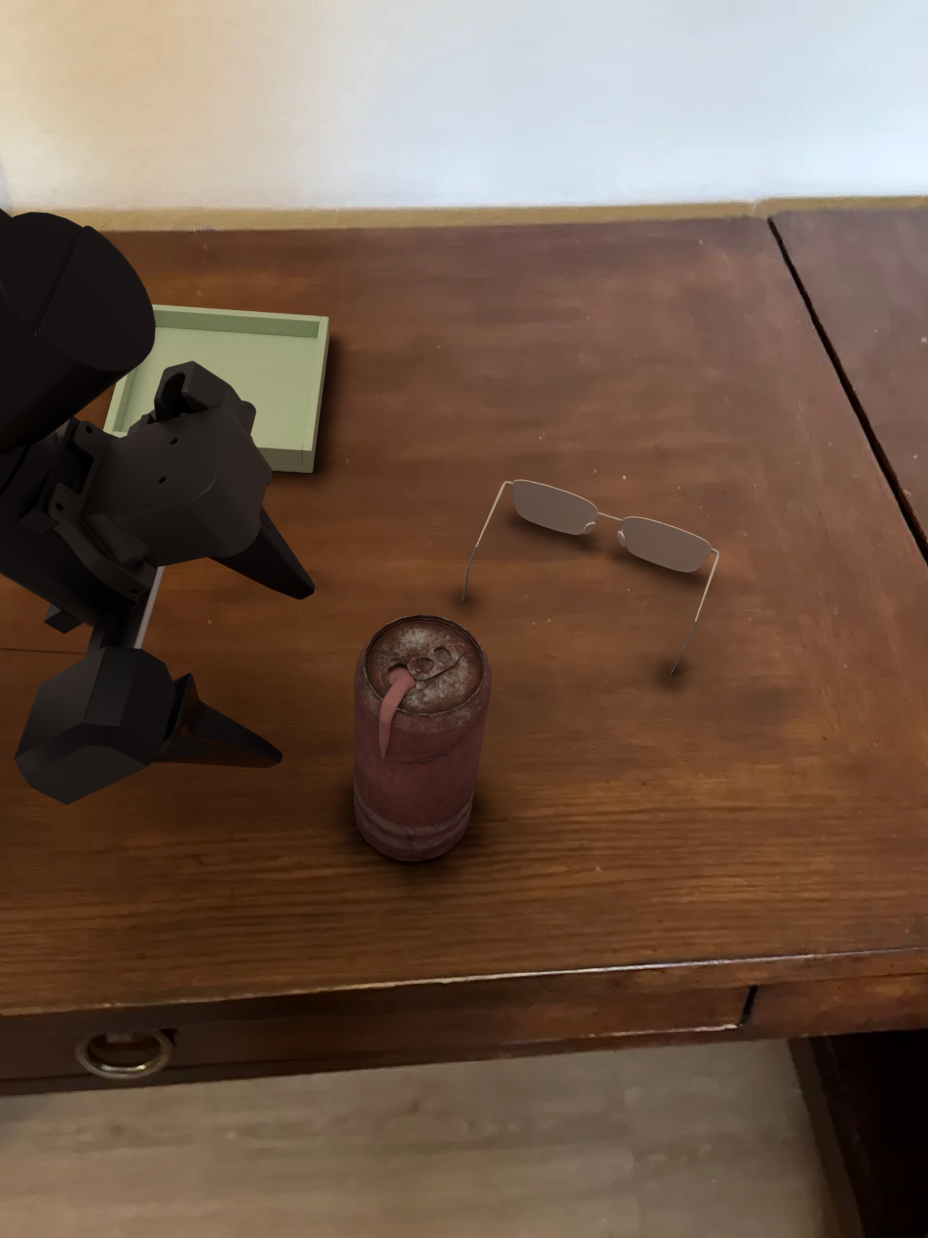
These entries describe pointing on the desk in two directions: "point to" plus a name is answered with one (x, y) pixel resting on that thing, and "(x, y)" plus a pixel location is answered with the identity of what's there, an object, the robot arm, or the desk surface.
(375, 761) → the can
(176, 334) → the tray
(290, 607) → the desk surface
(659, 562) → the eyeglasses
